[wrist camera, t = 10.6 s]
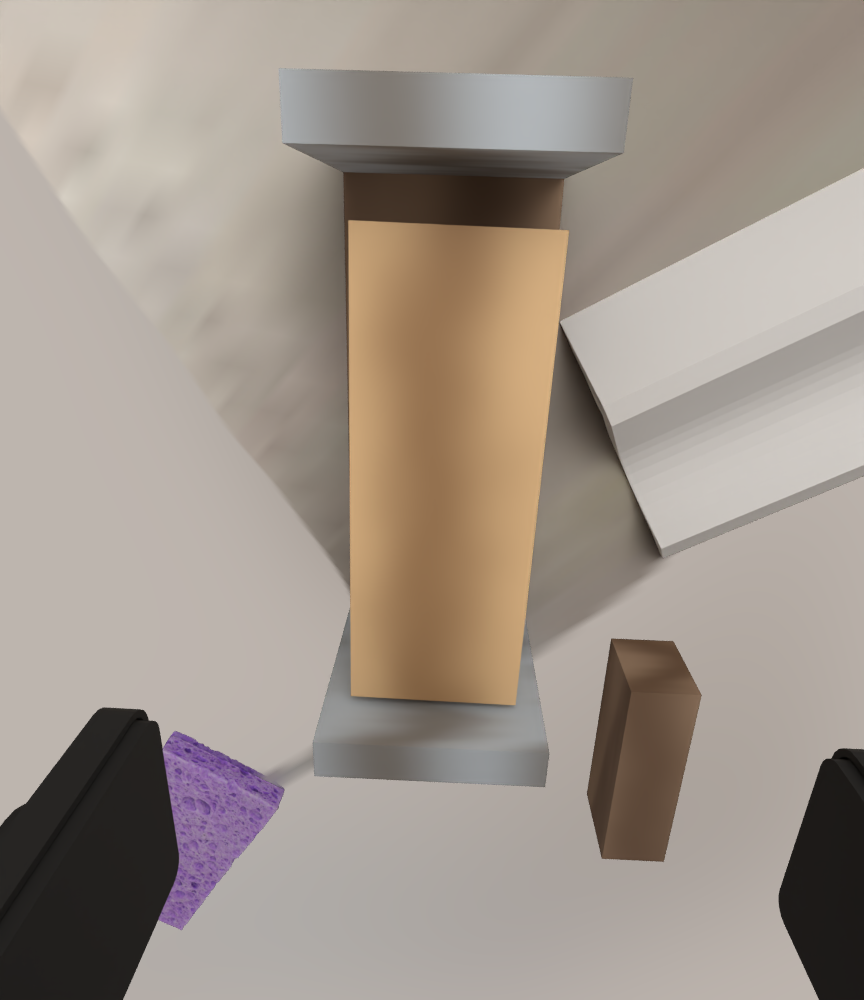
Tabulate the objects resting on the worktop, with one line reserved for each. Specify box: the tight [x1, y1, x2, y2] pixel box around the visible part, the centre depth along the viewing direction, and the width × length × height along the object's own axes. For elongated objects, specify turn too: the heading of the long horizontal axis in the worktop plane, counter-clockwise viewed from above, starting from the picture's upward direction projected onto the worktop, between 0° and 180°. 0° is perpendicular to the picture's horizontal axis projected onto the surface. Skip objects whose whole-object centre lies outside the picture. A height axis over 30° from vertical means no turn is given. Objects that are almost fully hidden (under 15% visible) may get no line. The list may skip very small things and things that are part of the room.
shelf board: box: [348, 220, 569, 705], centre depth 22 cm, size 6×16×3 cm, turn 178°
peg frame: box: [279, 68, 633, 787], centre depth 24 cm, size 8×21×10 cm, turn 178°
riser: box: [587, 639, 702, 862], centre depth 32 cm, size 3×10×4 cm, turn 178°
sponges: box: [158, 731, 285, 930], centre depth 38 cm, size 7×13×2 cm, turn 146°
